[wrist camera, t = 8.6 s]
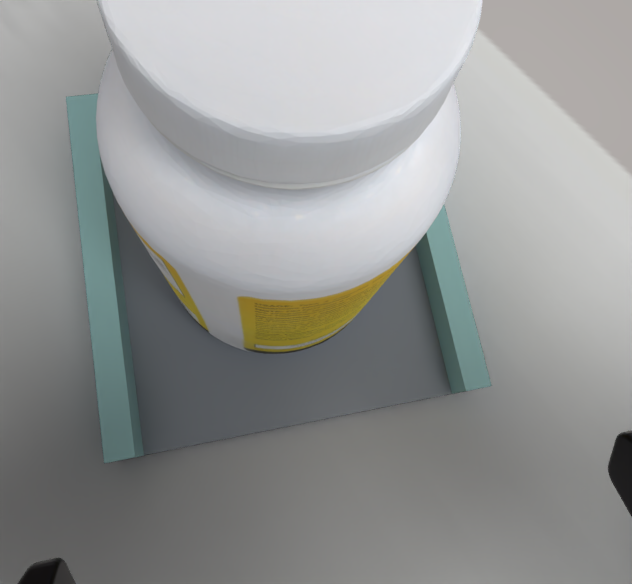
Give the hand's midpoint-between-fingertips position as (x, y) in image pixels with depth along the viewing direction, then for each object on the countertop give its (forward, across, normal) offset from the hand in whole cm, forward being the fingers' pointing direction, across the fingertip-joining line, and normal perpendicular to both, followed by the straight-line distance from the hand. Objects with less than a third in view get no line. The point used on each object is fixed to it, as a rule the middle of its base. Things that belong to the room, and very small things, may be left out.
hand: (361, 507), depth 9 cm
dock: (+11, 0, +1) cm, 11 cm away
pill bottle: (+10, 0, +1) cm, 10 cm away
